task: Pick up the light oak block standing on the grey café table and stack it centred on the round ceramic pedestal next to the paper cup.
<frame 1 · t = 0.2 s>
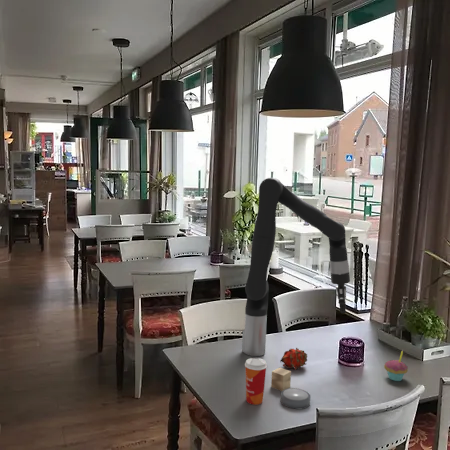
hand: (343, 309, 202), 22 cm above the table, tool pointing down, fingers open, 8 cm apart
oak block: (280, 387, 179), on the table
dragon fruit: (293, 368, 197), on the table
cupcake: (395, 379, 190), on the table
paper cup: (254, 401, 168), on the table
pedestal: (295, 401, 169), on the table
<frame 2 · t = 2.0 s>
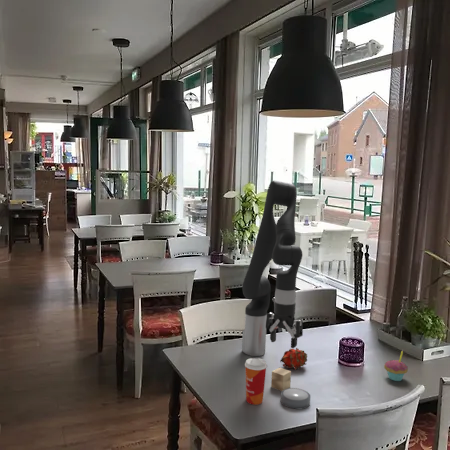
hand: (283, 344, 178), 16 cm above the table, tool pointing down, fingers open, 8 cm apart
nothing on the table moved.
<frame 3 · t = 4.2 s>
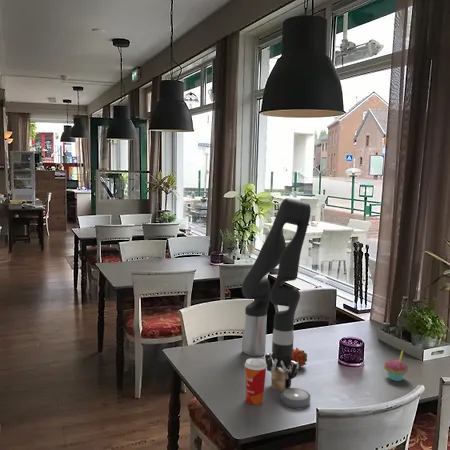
hand: (280, 385, 179), 1 cm above the table, tool pointing down, fingers closed on oak block, 5 cm apart
oak block: (280, 386, 179), on the table, touching gripper
everything else where it was.
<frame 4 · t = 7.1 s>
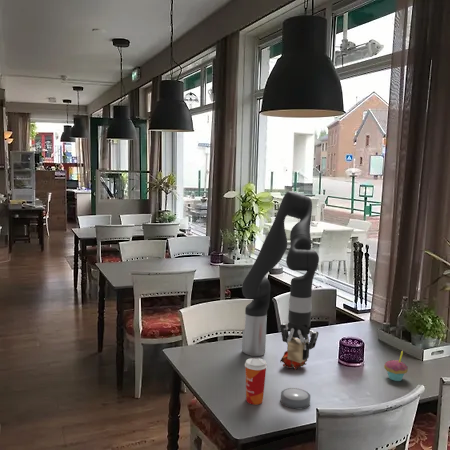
hand: (297, 357, 167), 16 cm above the table, tool pointing down, fingers closed on oak block, 5 cm apart
oak block: (297, 358, 167), point 15 cm above the table, touching gripper
everything else where it was.
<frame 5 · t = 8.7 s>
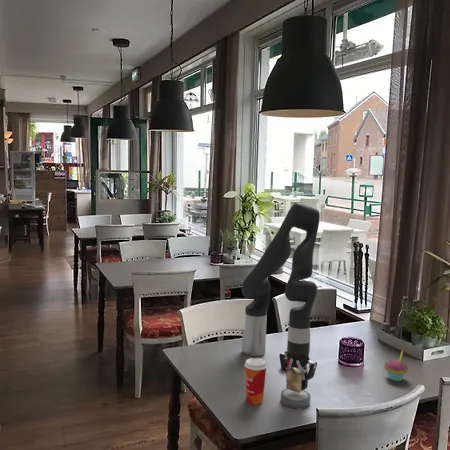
hand: (296, 386, 168), 5 cm above the table, tool pointing down, fingers closed on oak block, 5 cm apart
oak block: (296, 388, 168), point 5 cm above the table, touching gripper
everything else where it was.
when the fingers open (4 cm above the table, at t = 10.0 s): oak block stays where it is, resting on pedestal.
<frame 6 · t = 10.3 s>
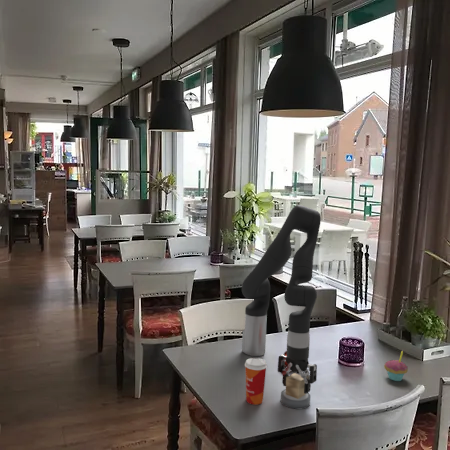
hand: (295, 389, 168), 5 cm above the table, tool pointing down, fingers open, 8 cm apart
oak block: (295, 394, 168), point 3 cm above the table, touching pedestal
everything else where it was.
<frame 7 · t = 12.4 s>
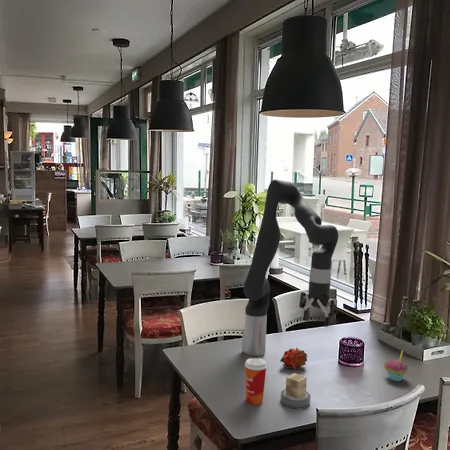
hand: (316, 323, 179), 24 cm above the table, tool pointing down, fingers open, 8 cm apart
nothing on the table moved.
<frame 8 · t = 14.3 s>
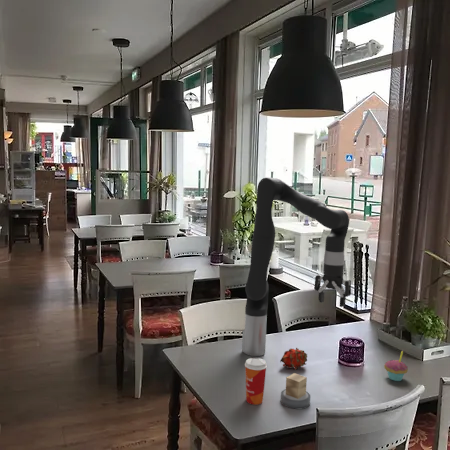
hand: (331, 304, 188), 28 cm above the table, tool pointing down, fingers open, 8 cm apart
nothing on the table moved.
at the end: oak block 0.0 cm off-centre on the pedestal, point 2.7 cm above the pedestal's base; oak block tilted 0°; the gripper is holding nothing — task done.
